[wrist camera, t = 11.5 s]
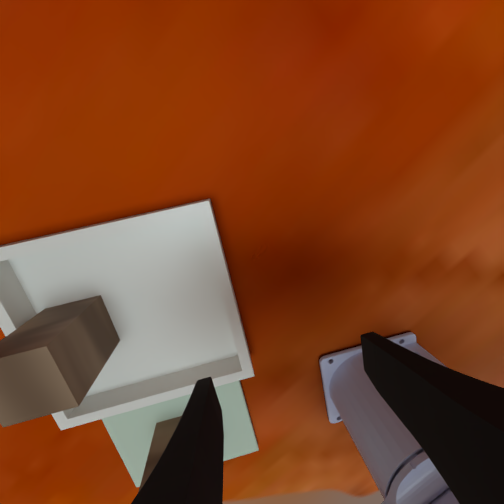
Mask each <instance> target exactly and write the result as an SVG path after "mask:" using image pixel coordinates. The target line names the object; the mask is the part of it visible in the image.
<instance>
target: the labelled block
mask: <svg viewBox="0 0 504 504" xmlns="http://www.w3.org/2000/svg"><path fill="white" fill-rule="evenodd" d="M180 419H181V416H180V417H176V418H172V419H169V420H165V421H162V422H158V423H156V426H155V430H154V434H153V438H152V442H151V446H150V450H149V453H148V457H147V461H146V465H145V469H144V473H143V477H142V481H141V484H140V488H139V491H140V490H141V488H142V487H143V485H144V484H145V482H146V480H147V479H148V477H149V476H150V474H151V472H152V471H153V469H154V467H155V466H156V464H157V462H158V461H159V459H160V457H161V455H162V454H163V452H164V450H165V448H166V446H167V444H168V442H169V440H170V439H171V437H172V435H173V433H174V431H175V429H176V427H177V425H178V423H179V421H180ZM138 493H139V492H138Z"/></svg>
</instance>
